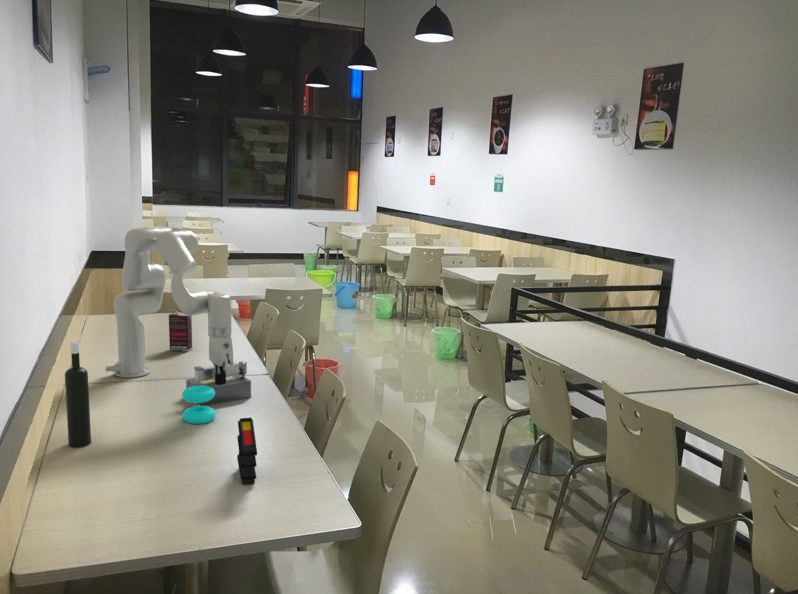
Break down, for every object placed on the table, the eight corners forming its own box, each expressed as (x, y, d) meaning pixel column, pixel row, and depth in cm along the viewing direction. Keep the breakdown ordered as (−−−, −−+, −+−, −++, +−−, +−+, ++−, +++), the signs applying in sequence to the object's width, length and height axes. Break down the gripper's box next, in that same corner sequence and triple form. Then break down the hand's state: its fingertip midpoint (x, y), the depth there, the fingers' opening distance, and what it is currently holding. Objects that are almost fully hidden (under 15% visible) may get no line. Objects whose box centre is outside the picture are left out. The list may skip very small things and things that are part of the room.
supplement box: (192, 349, 293) (192, 313, 290) (188, 351, 288) (187, 315, 286) (173, 347, 294) (173, 312, 291) (169, 350, 289) (168, 314, 286)
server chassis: (201, 406, 222) (201, 387, 221) (186, 396, 232) (186, 377, 231) (256, 396, 234) (256, 378, 233) (240, 386, 244) (240, 369, 243)
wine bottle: (66, 448, 186) (61, 343, 180) (70, 440, 191) (65, 338, 186) (89, 446, 187) (84, 343, 182) (92, 439, 193) (87, 338, 187)
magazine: (250, 455, 181) (252, 416, 173) (255, 495, 171) (258, 455, 163) (236, 456, 180) (238, 417, 172) (240, 496, 170) (242, 457, 161)
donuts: (216, 392, 206) (182, 395, 203) (217, 423, 208) (183, 426, 204) (213, 383, 215) (181, 385, 212) (214, 412, 217) (181, 415, 214)
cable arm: (244, 371, 239) (244, 359, 238) (248, 373, 236) (248, 361, 236) (194, 379, 227) (194, 366, 227) (198, 382, 225) (197, 369, 224)
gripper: (240, 334, 219) (240, 388, 222) (221, 325, 230) (221, 376, 233) (218, 337, 214) (219, 391, 217) (200, 328, 225) (201, 380, 229)
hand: (220, 383), depth 225 cm, fingers closed
